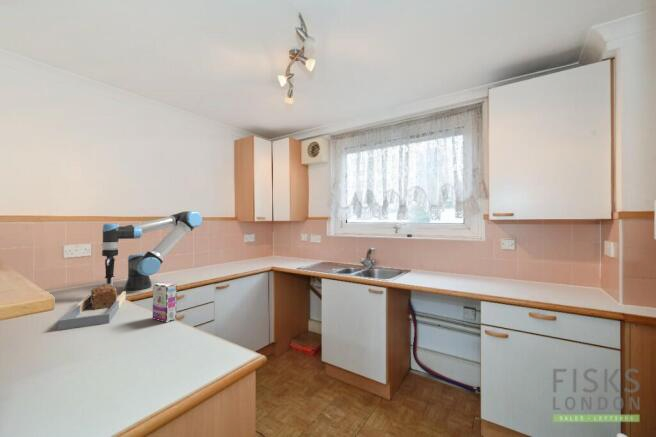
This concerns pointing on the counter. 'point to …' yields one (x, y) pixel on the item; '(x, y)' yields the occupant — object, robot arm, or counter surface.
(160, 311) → the candy bar box
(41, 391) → the counter surface
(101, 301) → the bread
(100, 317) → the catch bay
